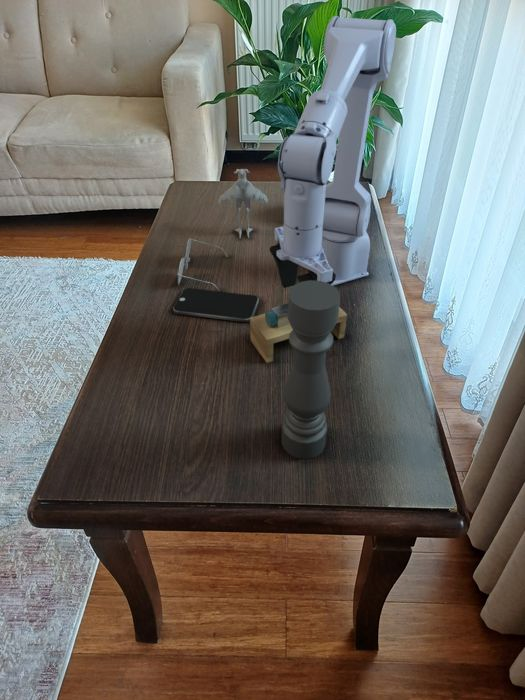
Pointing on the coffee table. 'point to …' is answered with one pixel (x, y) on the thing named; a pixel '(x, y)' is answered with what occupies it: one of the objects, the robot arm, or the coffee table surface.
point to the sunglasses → (189, 261)
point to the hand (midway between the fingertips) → (299, 297)
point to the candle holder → (309, 367)
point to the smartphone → (216, 305)
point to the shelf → (282, 333)
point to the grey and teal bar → (277, 316)
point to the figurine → (242, 196)
